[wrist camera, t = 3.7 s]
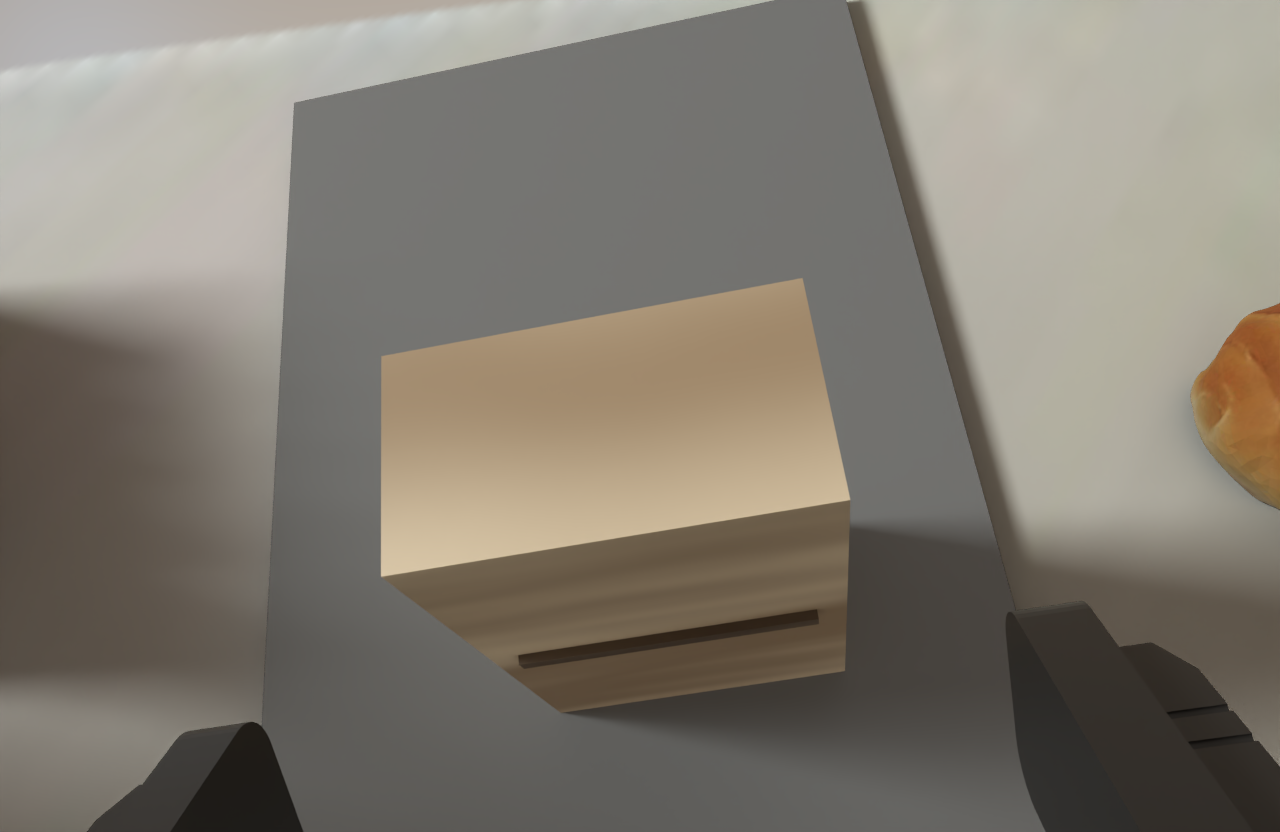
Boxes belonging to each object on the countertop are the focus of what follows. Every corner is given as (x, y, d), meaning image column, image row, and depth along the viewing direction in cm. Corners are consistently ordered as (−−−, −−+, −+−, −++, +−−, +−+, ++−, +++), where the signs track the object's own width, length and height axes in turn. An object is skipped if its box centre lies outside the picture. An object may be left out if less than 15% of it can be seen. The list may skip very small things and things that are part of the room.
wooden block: (847, 679, 20) (853, 512, 12) (561, 721, 20) (380, 588, 12) (814, 515, 21) (800, 268, 13) (549, 558, 22) (381, 346, 14)
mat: (246, 1299, 17) (231, 1309, 17) (302, 115, 29) (294, 102, 29) (1176, 1214, 16) (1185, 1223, 15) (842, 0, 28) (841, -15, 27)
